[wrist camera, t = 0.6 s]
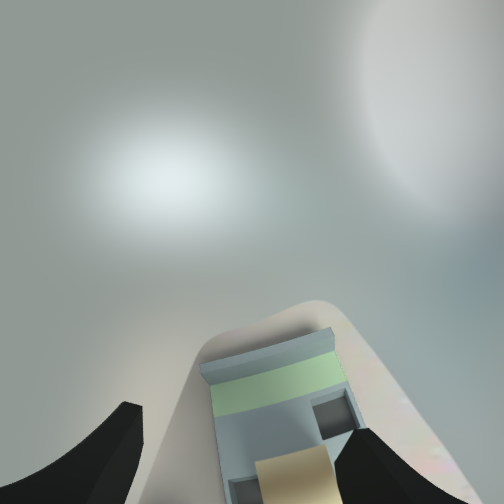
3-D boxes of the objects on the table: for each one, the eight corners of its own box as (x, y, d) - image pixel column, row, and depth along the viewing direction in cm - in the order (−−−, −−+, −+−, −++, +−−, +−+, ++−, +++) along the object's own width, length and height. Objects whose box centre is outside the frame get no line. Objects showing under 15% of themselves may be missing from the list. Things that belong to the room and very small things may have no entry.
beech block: (341, 505, 15) (344, 504, 12) (279, 521, 15) (268, 523, 12) (326, 455, 18) (324, 443, 16) (268, 471, 18) (254, 461, 16)
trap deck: (397, 527, 13) (411, 529, 10) (246, 566, 13) (229, 574, 10) (331, 352, 28) (330, 326, 25) (215, 385, 28) (199, 364, 25)
